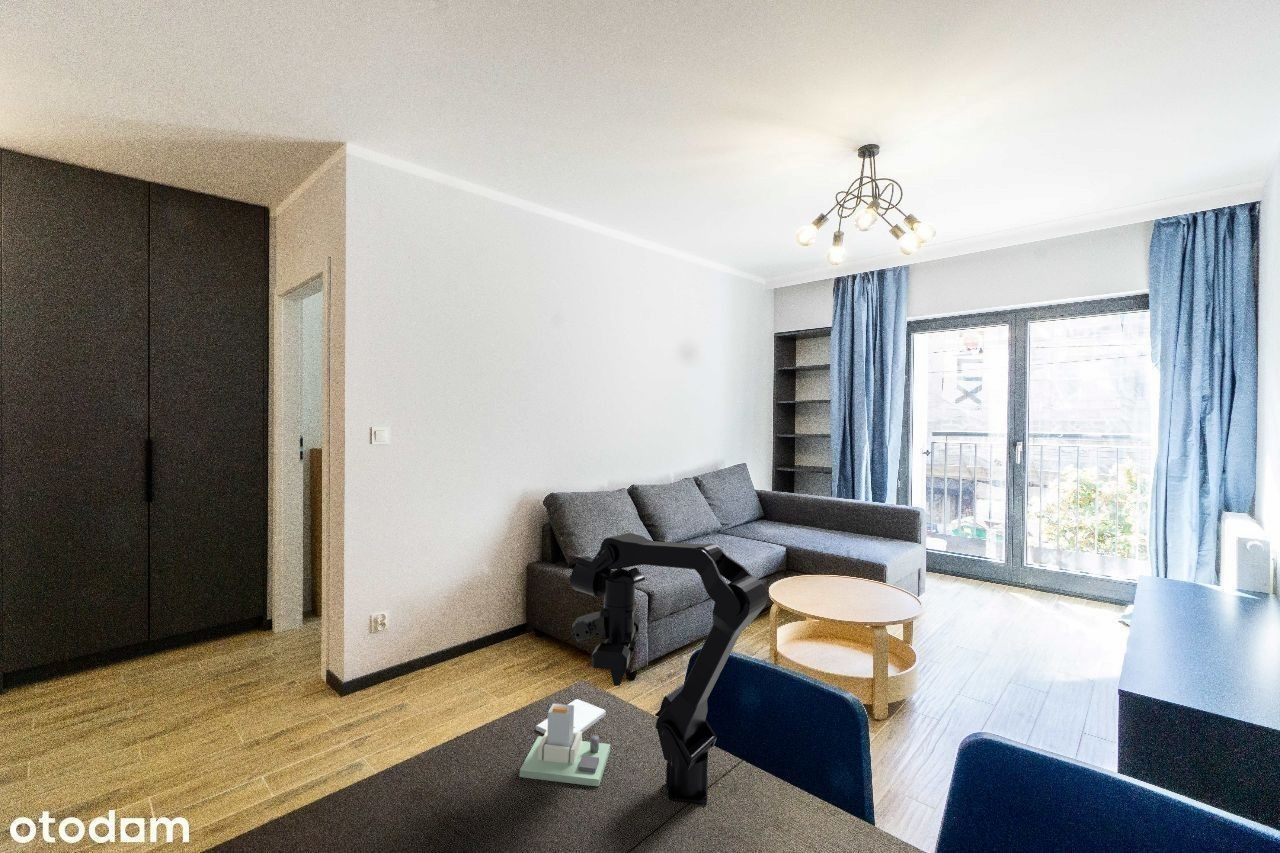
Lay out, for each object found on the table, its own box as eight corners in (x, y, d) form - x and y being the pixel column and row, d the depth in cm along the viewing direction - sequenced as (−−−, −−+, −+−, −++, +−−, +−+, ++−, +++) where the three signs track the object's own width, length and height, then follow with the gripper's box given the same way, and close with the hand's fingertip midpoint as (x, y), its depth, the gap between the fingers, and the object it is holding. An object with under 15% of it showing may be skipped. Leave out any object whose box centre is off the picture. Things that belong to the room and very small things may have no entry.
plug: (572, 748, 99) (574, 702, 99) (568, 758, 96) (569, 711, 96) (551, 746, 100) (553, 700, 100) (547, 756, 97) (548, 708, 97)
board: (610, 750, 101) (610, 730, 101) (598, 786, 91) (599, 765, 91) (538, 742, 103) (538, 723, 103) (519, 776, 93) (520, 755, 93)
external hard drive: (605, 717, 113) (566, 747, 102) (575, 705, 117) (535, 732, 107) (606, 710, 113) (567, 738, 102) (575, 698, 117) (535, 724, 107)
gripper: (588, 583, 110) (586, 658, 111) (563, 617, 92) (561, 707, 92) (642, 587, 109) (640, 663, 109) (627, 622, 90) (625, 713, 91)
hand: (617, 684), depth 100 cm, fingers closed
